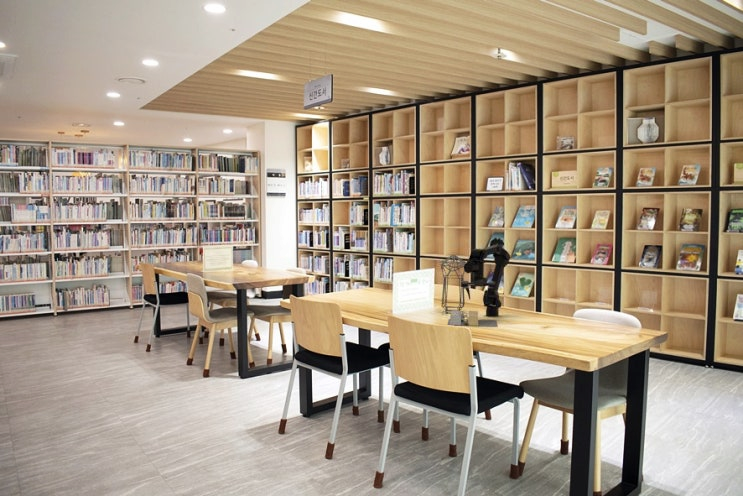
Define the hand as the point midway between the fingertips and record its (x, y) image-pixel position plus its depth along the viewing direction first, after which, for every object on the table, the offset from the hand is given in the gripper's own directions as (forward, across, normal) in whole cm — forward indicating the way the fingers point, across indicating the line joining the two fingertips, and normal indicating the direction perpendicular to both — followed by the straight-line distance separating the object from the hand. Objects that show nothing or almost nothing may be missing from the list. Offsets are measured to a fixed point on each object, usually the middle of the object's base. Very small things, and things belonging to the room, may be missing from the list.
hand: (478, 299), depth 321 cm
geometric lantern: (+12, -14, +24) cm, 31 cm away
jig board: (+12, -3, -10) cm, 16 cm away
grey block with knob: (+11, -10, -10) cm, 18 cm away
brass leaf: (+11, -4, -10) cm, 15 cm away
